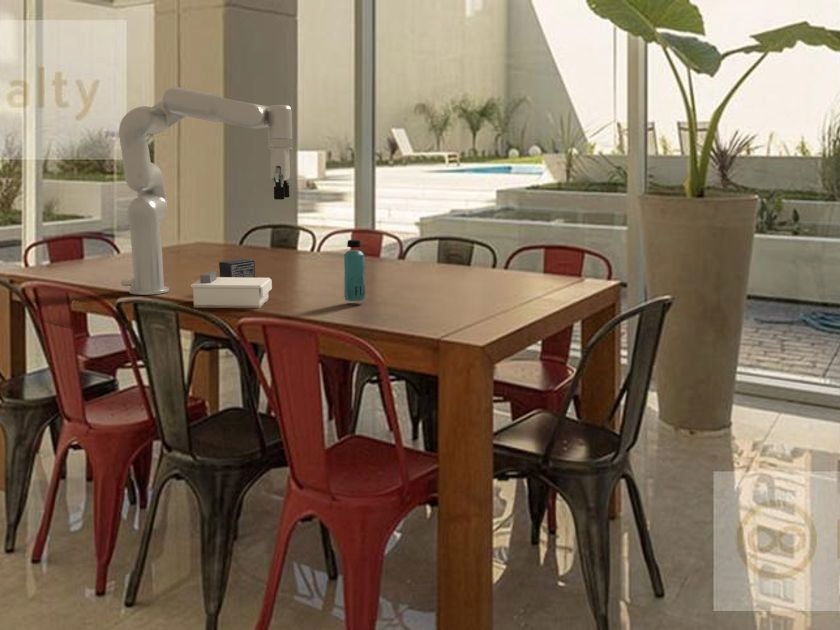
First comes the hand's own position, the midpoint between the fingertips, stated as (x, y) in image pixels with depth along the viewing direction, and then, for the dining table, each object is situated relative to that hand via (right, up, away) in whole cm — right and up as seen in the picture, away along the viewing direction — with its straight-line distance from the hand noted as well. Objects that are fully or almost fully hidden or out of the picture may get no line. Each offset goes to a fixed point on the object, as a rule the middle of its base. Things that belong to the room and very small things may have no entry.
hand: (281, 198), depth 288 cm
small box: (-16, -30, +9) cm, 35 cm away
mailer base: (-14, -34, -12) cm, 39 cm away
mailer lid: (-13, -31, -13) cm, 36 cm away
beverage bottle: (+24, -35, -12) cm, 44 cm away
